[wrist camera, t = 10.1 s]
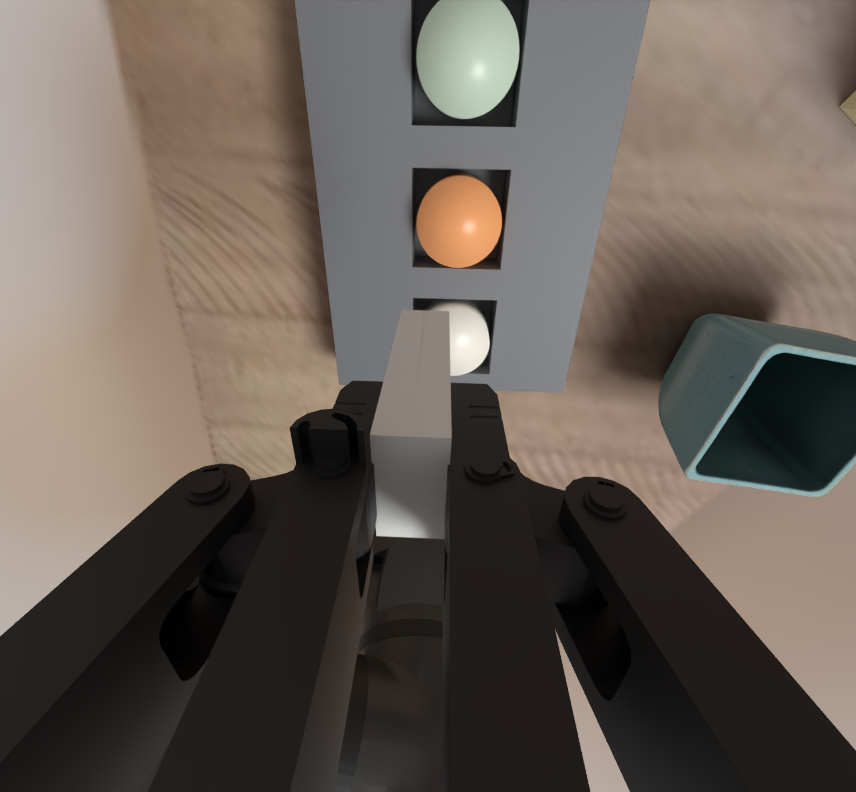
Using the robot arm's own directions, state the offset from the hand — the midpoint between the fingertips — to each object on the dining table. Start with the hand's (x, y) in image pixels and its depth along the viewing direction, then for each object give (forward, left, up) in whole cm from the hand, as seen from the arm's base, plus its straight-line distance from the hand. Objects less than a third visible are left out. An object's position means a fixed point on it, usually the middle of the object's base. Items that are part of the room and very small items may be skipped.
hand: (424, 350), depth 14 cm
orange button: (+2, -1, -13) cm, 14 cm away
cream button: (-5, -1, -13) cm, 14 cm away
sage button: (+9, -1, -13) cm, 16 cm away
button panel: (+2, -1, -15) cm, 15 cm away
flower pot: (-7, -20, -15) cm, 26 cm away
